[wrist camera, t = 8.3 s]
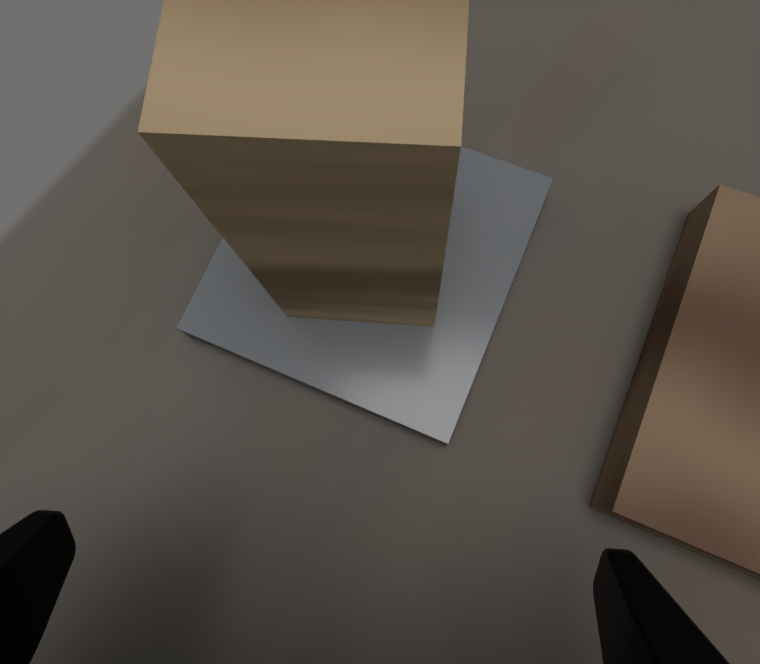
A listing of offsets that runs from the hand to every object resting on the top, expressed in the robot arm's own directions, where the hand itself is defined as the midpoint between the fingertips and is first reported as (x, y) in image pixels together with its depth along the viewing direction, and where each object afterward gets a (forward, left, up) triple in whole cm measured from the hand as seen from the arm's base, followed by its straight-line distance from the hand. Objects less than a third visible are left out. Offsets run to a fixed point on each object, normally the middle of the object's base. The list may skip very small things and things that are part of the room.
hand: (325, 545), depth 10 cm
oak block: (+7, +3, -7) cm, 10 cm away
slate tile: (+7, +3, -8) cm, 11 cm away
